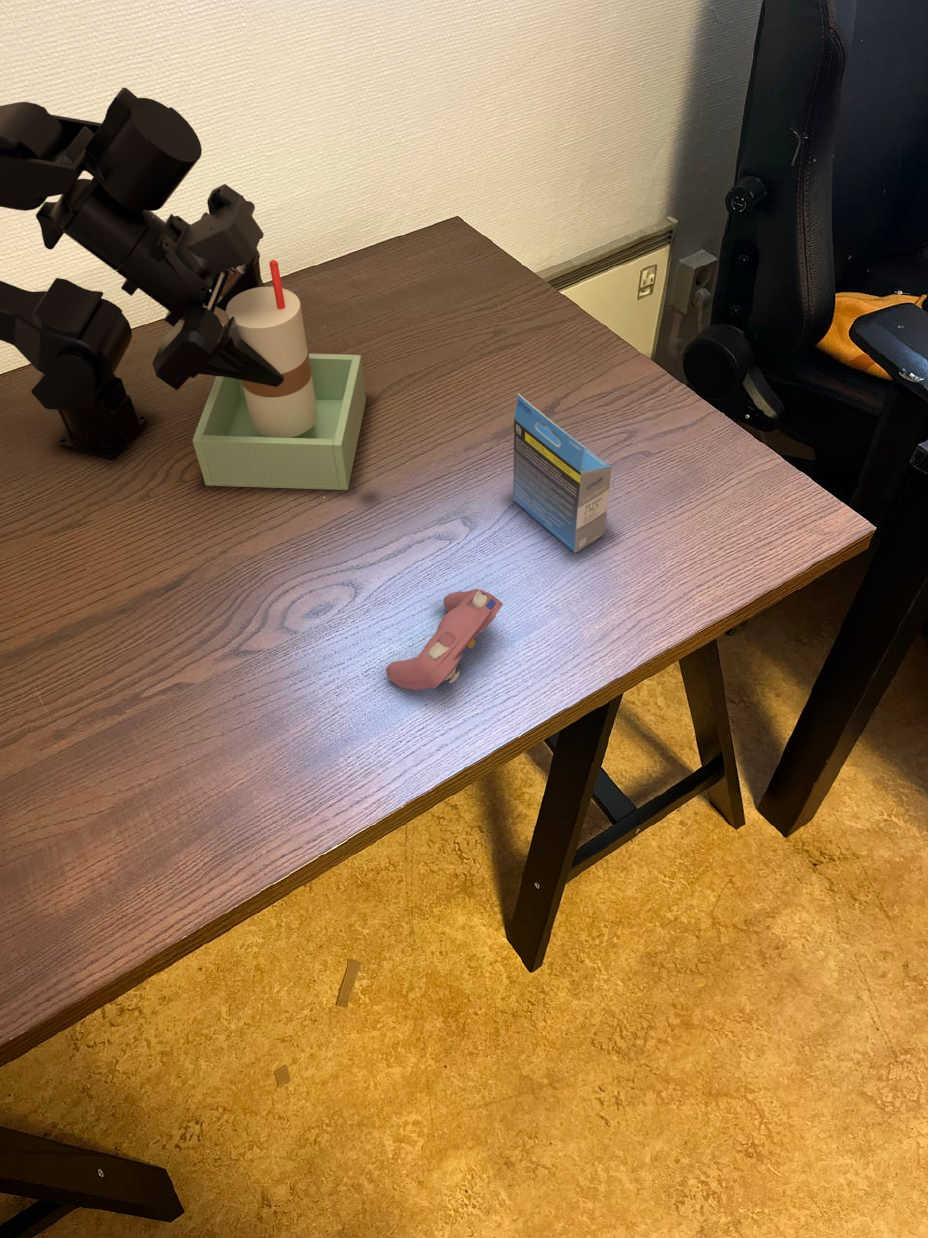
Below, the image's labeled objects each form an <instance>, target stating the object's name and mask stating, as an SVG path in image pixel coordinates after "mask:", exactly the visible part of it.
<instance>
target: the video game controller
mask: <svg viewBox="0 0 928 1238" xmlns="http://www.w3.org/2000/svg"><path fill="white" fill-rule="evenodd" d="M503 605H504V602H501V600H499V598H497V597H496V596H495V595H493V594H491V593H490V592H488V591H485V590H483V589H479V588H474V589H471V590H467V591H466V590H465V591H454V592H450V593H449V594H447V595H446V596H445V597H444V598H443V606H444V608H445V610H446V613H445V615H444V616H443V617H442V618H441V620H440V622H439V624H438V626H437V629H436V632H435V633H434V634H433V635H432V637H431V638H430V639H429V641H427V643H426V645H425V646H424V647H423V649H422V650H421V652H420V653H419V654H418V655H417V656H415V657H413V658H409V659H404V660H397V661H392V662H391V663H389V664H388V665H387V667H386V676H387V677H388V679H389V681H390V682H391V683H393V684H394V685H396V686H397V687H400V688H403V689H407V690H413V691H414V690H415V691H416V690H417V691H419V690H426V689H427V690H428V689H430V688H432V689H434V690H435V689H436V688H437V687H438V686H439V685H440V684H441V683H443V682H445V681H447V680H449V681H448V684H452V683H454V682H455V681H456V680H457V679H458V678H459V676H460V672H461V671H460V670H457V667H458V664H459V661H460V660H461V658H462V657H463V655H464V654H463V653H462V652H464V651H465V649H467V647H468V649H470V648H473V647H474V646H475V644H476V639H475V638H476V637H478V636H479V634H480V633H481V632H482V631H483V630H484V629H486V628H488V627H490V625H491V623H492V622H493V621H494V620H495V618H496V616H497V614H498V613H499V611H500V610H501V608H502V607H503Z"/></svg>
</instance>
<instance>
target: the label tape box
mask: <svg viewBox="0 0 928 1238" xmlns="http://www.w3.org/2000/svg"><path fill="white" fill-rule="evenodd" d="M611 475H612V465H610V464H608V463H607V462H606V461H605V460H603V459H602V458H601V457H600V456H599V455H597V454H595V452H593V451H592V450H590V449H589V448H588V447H587V446H585V445H583V444H582V443H581V442H580V441H579V440H577V439H576V438H575V437H573V436H572V435H571V434H569V433H568V432H567V431H566V430H565V429H563V428H561V427H560V426H559V425H557V424H556V422H553V421H552V419H550V418H549V417H548V416H546V415H545V414H544V413H543V412H542V411H540V410H539V409H538V408H537V407H535V406H534V405H532V404H531V402H529V401H528V400H527V399H525V398H524V397H523V396H522V395H521V394H520V392H518V393H517V395H516V404H515V409H514V414H513V481H512V483H513V487H512V488H513V489H512V491H513V492H512V494H513V495H512V500H513V501H514V502H515V503H516V504H517V505H518V506H520V507H521V509H523V510H524V511H525V512H527V513H528V514H529V515H530V516H531V517H532V518H533V519H534V520H535V521H537V523H539V524H541V526H543V528H545V529H546V530H547V531H549V532H550V533H551V534H552V535H553V536H554V537H555V538H557V539H558V540H559V541H560V542H561V543H563V545H565V547H567V548H568V549H570V550H571V551H572V552H573V553H575V554H576V553H578V552H579V551H581V550H583V549H584V548H586V547H587V546H589V545H591V544H592V543H594V542H595V541H597V540H598V539H600V538H602V537H603V536H604V535H605V533H606V532H605V530H606V521H607V513H608V503H609V493H610V486H611V485H610V484H611Z"/></svg>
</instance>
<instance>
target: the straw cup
mask: <svg viewBox="0 0 928 1238" xmlns="http://www.w3.org/2000/svg"><path fill="white" fill-rule="evenodd" d="M269 269H270V275H271V280H272V281H271V282H272V286H266V287H258V288H253V289H249V290H246V291H244V292H241V293H239V294H238V295H236V296H235V297H233V298H232V299H231V300H230V301H229V303H228V305H227V307H226V311H225V315H226V319H227V322H228V321H229V320H230V318H231V317H232V316H234V318H235V321H236V325H237V329H238V332H239V336H240V338H241V339H242V340H243V341H245V342H246V343H247V344H248V345H249V346H250V347H251V348H253V349H254V350H255V351H256V352H257V353H258V354H259V355H261V356H262V357H263V358H264V359H265V360H266V361H267V362H269V363H270V364H271V365H272V366H273V367H274V368H275V369H276V370H277V371H278V372H279V373H280V374H281V375H282V376H283V377H284V381H283V382H282V383H281V384H280V385H279V386H278V387H274V386H269V385H264V384H259V383H254V382H249V381H244V380H241V382H242V385H243V389H244V393H245V397H246V402H247V406H248V411H249V415H250V419H251V424H252V426H253V428H254V429H255V430H256V431H257V432H258V433H260V434H261V435H264V436H266V437H277V438H291V437H295V436H298V435H301V434H303V433H305V432H306V431H308V430H309V429H310V428H311V427H312V426H313V425H314V424H315V422H316V420H317V416H318V412H317V406H316V400H315V393H314V387H313V381H312V375H311V374H312V372H311V365H310V358H309V354H310V353H309V348H308V345H307V344H308V343H307V337H306V330H305V326H304V319H303V318H304V317H303V313H302V306H301V301H300V299H299V297H298V296H297V295H296V294H295V292H292V291H290V290H289V289H286V288H283V285H282V279H281V274H280V273H281V272H280V268H279V262H278V261H277V260H275V259H271V260H270V261H269Z"/></svg>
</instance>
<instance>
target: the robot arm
mask: <svg viewBox="0 0 928 1238" xmlns="http://www.w3.org/2000/svg"><path fill="white" fill-rule="evenodd" d="M202 153H203V150H202V143H201V141H200V139H199V136H198V135H197V133H196V131H195V130H194V129H193V127H192V126H191V124H190V122H189V121H188V120H186V119H185V118H184V116H183V115H181V114H180V113H179V111H177V110H176V109H175V108H173V106H169V107H168V106H166V105H165V104H163V103H161V102H160V101H157V100H155V99H152V98H148V97H138V96H136V94H134V93H133V92H132V91H131V90H130V89H128V88H127V87H121V89H120V90H119V91H118V92H117V94H116V95H115V97H114V98H113V100H112V101H111V103H110V104H109V105H108V108H107V109H106V112H105V116H104V119H103V121H102V122H96V121H90V120H86V119H79V118H73V117H69V116H62V115H57V114H51V113H49V112H48V110H47V108H46V107H44V106H42V105H40V104H37V103H35V102H30V101H18V102H12V103H8V104H3V105H0V208H5V209H9V210H15V211H21V212H22V211H23V212H27V211H33V210H36V209H38V208H39V209H38V211H37V212H36V214H35V218H36V221H38V224H39V227H40V230H41V237H42V241H43V245H44V247H45V248H46V249H47V250H54V249H55V247H56V245H57V244H58V242H59V241H60V240H61V238H62V237H63V236H64V235H66V236H67V237H69V238H70V239H71V240H73V241H74V242H75V243H77V244H78V245H79V246H80V247H82V248H83V249H85V250H86V251H87V252H88V253H90V254H92V255H93V256H94V257H95V258H97V259H98V260H100V261H101V262H102V263H104V264H105V265H106V266H108V267H109V268H111V269H112V270H113V271H115V272H116V273H117V274H118V275H120V276H121V277H122V278H124V279H125V280H124V281H123V283H122V285H121V287H120V289H121V290H122V291H123V292H125V293H127V294H128V295H129V296H130V297H132V296H133V295H134V294H135V293H136V291H138V290H140V291H141V292H142V293H144V294H146V295H147V296H148V297H149V298H151V299H152V300H153V301H155V302H156V303H158V304H159V305H160V306H162V308H164V309H166V310H167V312H166V314H165V317H164V319H163V321H164V322H166V323H167V324H169V325H170V326H172V328H171V329H170V331H169V332H168V333H167V334H166V335H165V336H164V337H163V339H162V341H161V343H160V344H159V347H158V349H157V351H156V354H155V356H154V358H153V361H152V367H153V370H154V373H155V376H156V378H158V379H160V380H161V381H162V382H164V383H165V384H166V385H168V386H170V387H171V388H172V389H174V390H176V391H179V389H180V388H182V386H183V385H184V384H185V383H187V381H188V380H189V379H190V378H191V379H195V378H196V377H197V376H198V375H204V376H213V377H216V376H221V377H228V378H234V379H239V380H244V381H249V382H254V383H259V384H264V385H269V386H274V387H278V386H279V385H280V384H281V383H282V382H283V381H284V377H283V376H282V375H281V374H280V373H279V372H278V371H277V370H276V369H275V368H274V367H273V366H272V365H271V364H270V363H269V362H267V361H266V360H265V359H264V358H263V357H262V356H261V355H259V354H258V353H257V352H256V351H255V350H254V349H253V348H251V347H250V346H249V345H248V344H247V343H246V342H245V341H243V340H242V339H241V338H240V336H239V332H238V329H237V325H236V321H235V318H234V316H232V317H231V318H230V320H229V321H228V320H227V321H226V323H225V324H224V322H222V321H221V319H220V318H219V316H218V315H217V314H215V310H216V308H218V309H220V310H222V311H224V312H226V307H227V305H228V303H229V301H230V300H231V299H232V298H233V297H235V296H236V295H238V294H239V293H241V292H244V291H246V290H249V289H253V288H258V287H267V286H266V284H265V283H264V281H263V279H262V275H261V265H260V258H261V254H260V251H259V249H258V246H259V243H260V241H261V240H262V239H264V236H265V234H264V232H263V230H262V229H261V227H260V226H259V224H258V223H257V221H256V220H255V217H253V214H254V212H255V210H256V206H255V203H253V201H251V200H246V198H245V197H244V196H243V194H240V193H238V191H236V190H234V189H233V188H231V186H229V185H227V184H226V183H224V184H221V185H220V186H218V187H215V188H213V189H212V190H211V191H210V194H209V195H208V198H207V201H206V203H207V209H208V212H207V211H205V212H204V213H202V215H201V217H200V218H199V219H198V220H197V221H194V222H193V223H189V222H187V221H186V220H185V219H183V218H182V217H181V216H179V215H174V214H172V213H170V215H169V216H168V217H167V218H166V220H163V219H162V218H160V216H159V215H157V214H156V213H154V211H158V210H160V209H162V208H163V207H164V205H165V204H166V203H167V202H168V201H169V199H170V198H171V196H173V194H174V192H175V191H176V190H177V188H178V187H179V186H180V185H181V183H182V182H183V181H184V180H185V178H186V177H187V176H188V174H189V173H190V172H191V171H192V169H193V168H194V167H195V165H196V164H197V163H198V162H199V160H200V159H201V157H202ZM83 172H87V173H88V174H89V175H90V176H91V177H92V178H91V179H90V178H80V176H81V175H82V174H83ZM55 196H56V197H57V196H59V198H58V199H57V201H46V200H47V199H48V198H50V197H55ZM103 296H104V292H103V291H99V290H91V289H88V288H84V287H82V286H80V285H79V284H76V283H74V282H72V281H70V280H69V279H66V278H61V277H55V279H54V280H53V281H52V283H51V284H50V286H49V287H48V289H47V290H42V291H41V290H40V291H31V290H30V291H29V290H27V289H23V288H21V287H19V286H16V285H13V284H10V283H8V282H5V281H3V280H0V341H1V342H3V343H7V344H9V345H11V346H13V347H15V348H16V349H17V351H18V352H19V353H20V354H21V355H22V356H23V357H24V358H25V360H27V361H28V362H29V363H30V365H32V366H33V367H34V369H36V370H37V371H38V372H40V373H41V374H40V376H39V377H38V379H37V381H36V382H35V384H34V386H33V387H32V389H31V394H32V395H33V396H34V398H35V399H36V400H37V401H38V402H39V403H40V404H41V406H42V407H43V408H44V409H46V410H56V411H58V414H59V416H60V419H61V421H62V423H63V425H64V428H65V430H66V431H65V433H64V434H63V435H62V436H61V437H60V438H59V439H58V440H57V443H58V445H59V447H61V448H64V449H68V450H72V451H76V452H79V453H84V454H86V455H87V454H88V455H92V456H96V457H98V458H99V457H100V458H104V459H108V460H114V459H116V458H118V456H120V455H121V453H122V452H123V451H124V450H125V448H126V447H128V445H129V444H130V443H131V442H132V441H133V440H134V439H135V437H136V436H137V435H138V434H139V433H140V432H141V430H142V429H144V427H145V426H146V425H147V424H148V422H149V420H148V416H146V415H145V414H140V413H137V412H136V409H135V406H134V403H133V401H132V398H131V395H130V394H127V391H126V388H125V385H124V381H123V379H122V378H121V377H117V376H116V375H115V373H116V370H117V369H118V367H119V365H120V363H121V361H122V359H123V357H124V355H125V353H126V351H128V348H129V346H130V344H131V341H132V339H133V330H132V327H131V324H130V322H129V320H128V319H127V318H126V316H125V314H124V313H123V309H122V308H121V307H119V306H118V305H117V304H115V303H114V302H112V301H110V300H108V299H105V298H103Z"/></svg>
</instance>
